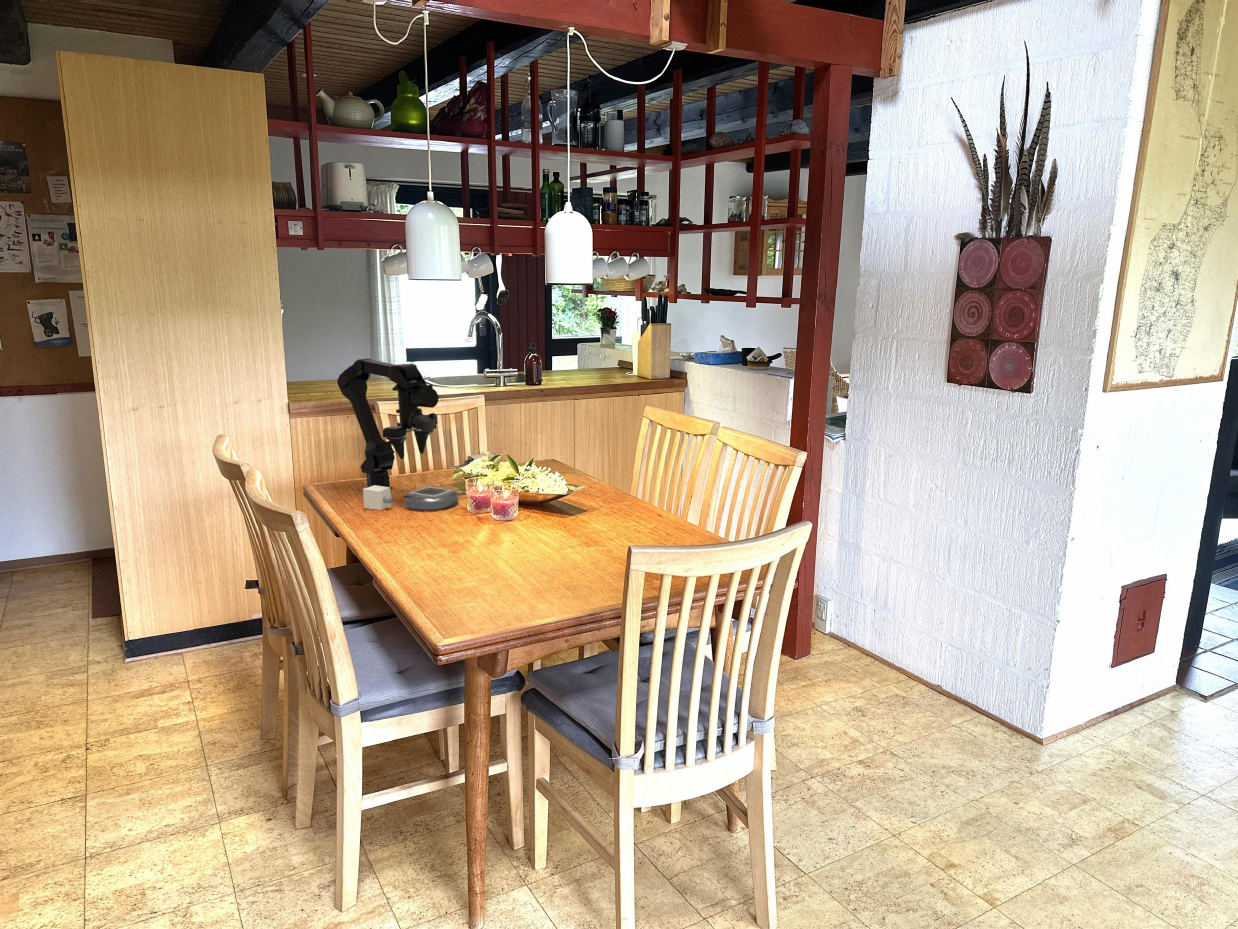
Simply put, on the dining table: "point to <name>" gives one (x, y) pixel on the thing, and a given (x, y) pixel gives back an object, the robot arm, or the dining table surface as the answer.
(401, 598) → the dining table surface
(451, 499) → the grey shallow dish
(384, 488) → the pump block
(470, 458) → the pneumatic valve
